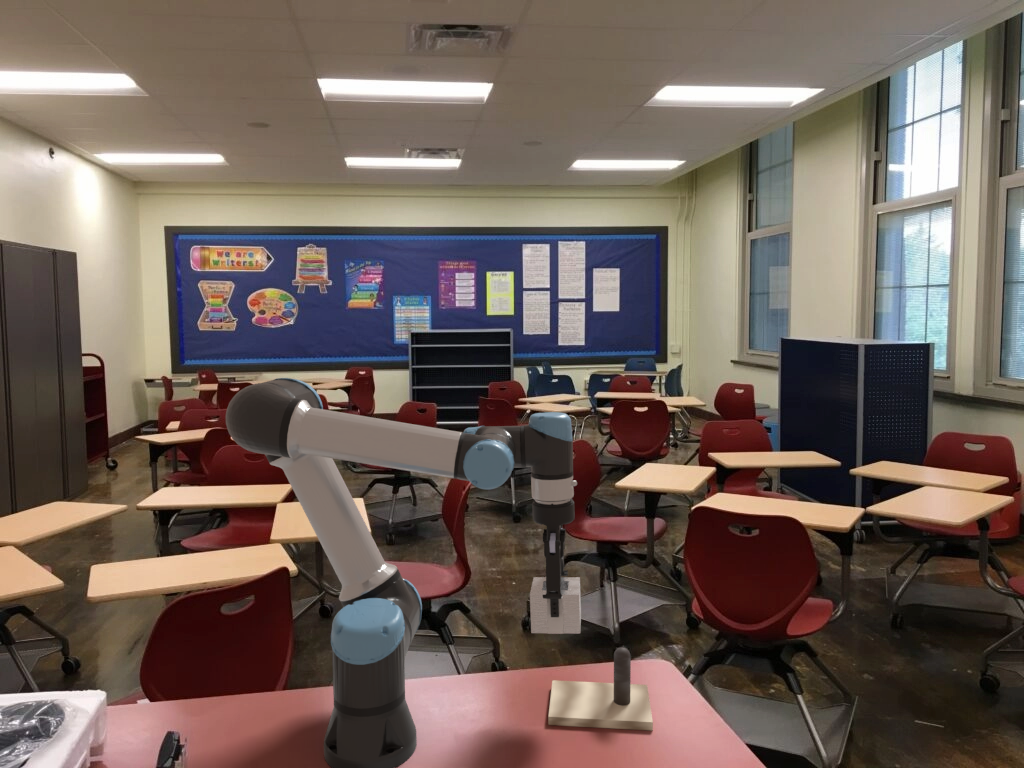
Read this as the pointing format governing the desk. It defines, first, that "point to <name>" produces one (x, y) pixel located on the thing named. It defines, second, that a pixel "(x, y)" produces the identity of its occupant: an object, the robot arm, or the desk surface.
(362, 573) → the robot arm
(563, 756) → the desk surface
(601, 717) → the board
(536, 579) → the gray cube
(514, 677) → the desk surface
